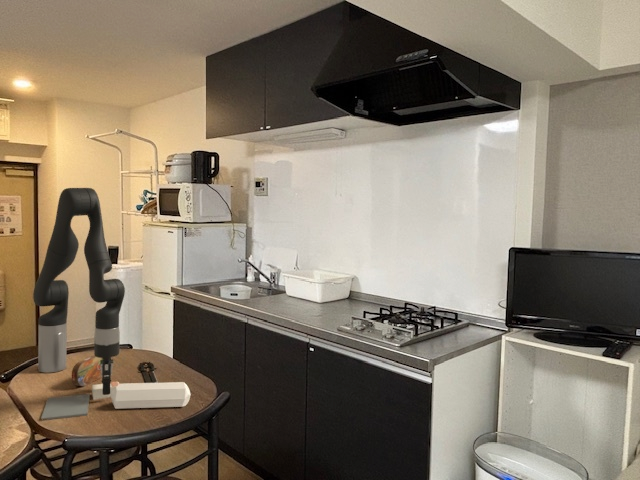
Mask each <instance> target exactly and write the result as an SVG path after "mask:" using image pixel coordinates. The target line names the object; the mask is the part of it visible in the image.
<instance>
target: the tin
mask: <svg viewBox="0 0 640 480" xmlns="http://www.w3.org/2000/svg"><path fill="white" fill-rule="evenodd" d="M100 360H103V358H98V357H96V356H95V355H91V356H89V357H87V358H85V359H82V360H80V361H78V362H77V363H75V364H74V366H73V367H72V371H71V381H72V383H73V385H75V386H78V387H86V386H87V385H90V384H92V383H94V382H95V381H97V380H100V379H102V377H101V368H100Z"/></svg>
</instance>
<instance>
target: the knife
mask: <svg viewBox="0 0 640 480" xmlns="http://www.w3.org/2000/svg"><path fill="white" fill-rule="evenodd" d="M145 364H147V365H145ZM138 367H139V368H138V373H141V374H142V375H143V378H144V381H145V383H159V381H158V379H157V376H156V374H155V371H154V370H156V371H157V369H158V368H157V367H155V364H153V363H152V362H151V361H148V362H147V361H143V362H139V365H138ZM147 368H150V369H148V371H147Z"/></svg>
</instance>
